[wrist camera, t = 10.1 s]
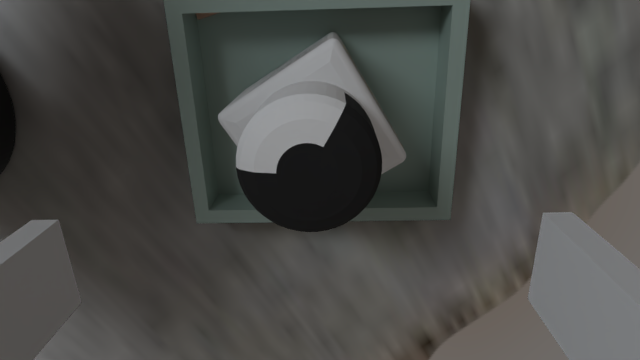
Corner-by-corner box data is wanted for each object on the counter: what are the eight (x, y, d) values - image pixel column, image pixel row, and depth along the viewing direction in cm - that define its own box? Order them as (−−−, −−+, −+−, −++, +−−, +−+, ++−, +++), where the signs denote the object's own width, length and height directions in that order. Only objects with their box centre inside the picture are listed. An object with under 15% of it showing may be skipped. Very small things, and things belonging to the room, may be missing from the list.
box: (209, 203, 34) (196, 223, 31) (181, -3, 29) (162, -5, 25) (439, 199, 34) (450, 219, 30) (455, -12, 28) (471, -15, 25)
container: (392, 125, 31) (430, 199, 19) (302, 178, 33) (284, 278, 21) (334, 28, 29) (336, 43, 17) (241, 91, 30) (180, 146, 18)
